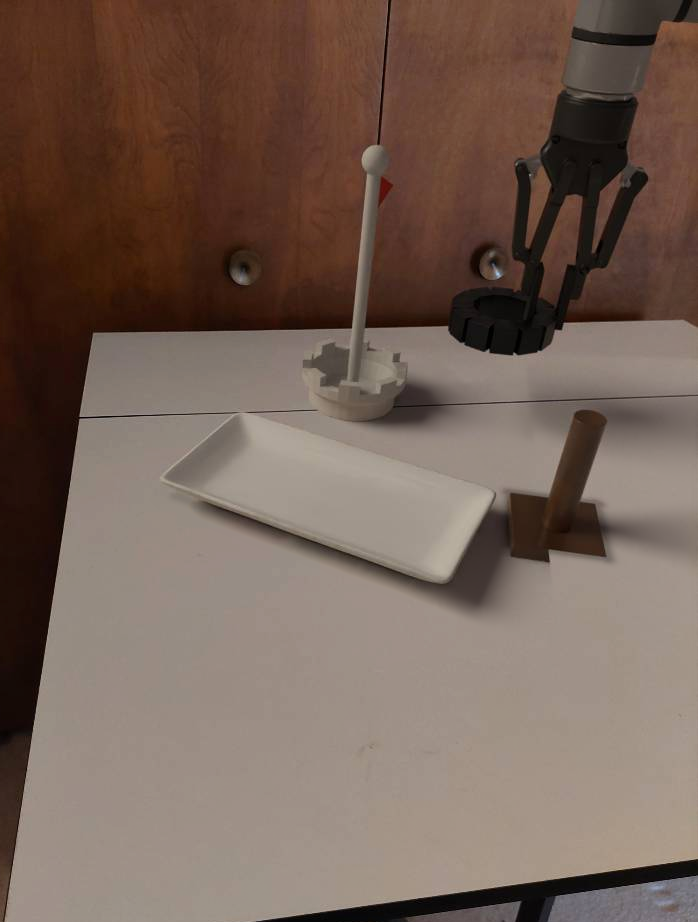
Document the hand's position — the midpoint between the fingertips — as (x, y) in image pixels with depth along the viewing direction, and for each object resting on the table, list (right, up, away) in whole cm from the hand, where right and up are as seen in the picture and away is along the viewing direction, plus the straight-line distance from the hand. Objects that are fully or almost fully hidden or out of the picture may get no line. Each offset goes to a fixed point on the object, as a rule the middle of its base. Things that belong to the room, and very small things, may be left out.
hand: (542, 323), depth 91 cm
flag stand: (-21, -7, +11) cm, 25 cm away
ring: (-5, -1, +2) cm, 5 cm away
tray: (-25, -22, -7) cm, 34 cm away
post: (-2, -24, -9) cm, 26 cm away
